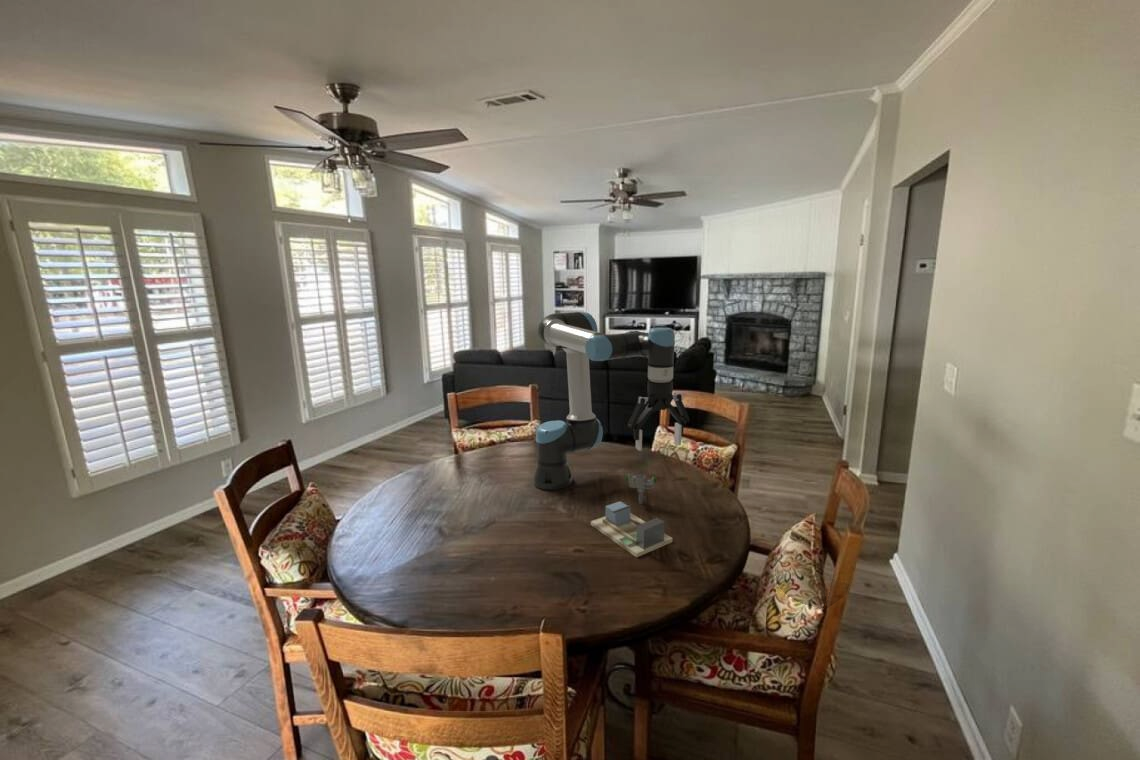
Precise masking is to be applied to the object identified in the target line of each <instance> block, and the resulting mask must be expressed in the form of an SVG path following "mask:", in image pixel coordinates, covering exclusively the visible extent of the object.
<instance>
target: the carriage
mask: <svg viewBox="0 0 1140 760" xmlns="http://www.w3.org/2000/svg"><path fill="white" fill-rule="evenodd" d="M631 508H632V504H629V505H627V504H625V502H622V501H617V502H615V503H614V502H613V503H611V504H607V505H605V512H604V514H605V515H604V516H605V519H606V520H608V521H609V522H611V523H612V524H614V525H615V526H620V525H623V524H625V523H628V522H630V513H631Z"/></svg>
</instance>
